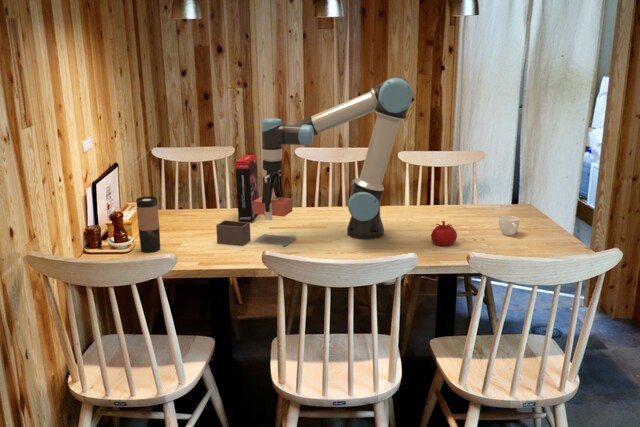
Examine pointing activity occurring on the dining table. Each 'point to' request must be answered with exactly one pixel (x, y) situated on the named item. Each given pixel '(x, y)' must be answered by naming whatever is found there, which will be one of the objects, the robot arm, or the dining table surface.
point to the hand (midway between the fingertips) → (273, 216)
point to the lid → (274, 206)
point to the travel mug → (148, 224)
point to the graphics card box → (246, 186)
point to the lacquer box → (233, 233)
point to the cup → (508, 225)
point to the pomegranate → (443, 235)
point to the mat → (275, 239)
